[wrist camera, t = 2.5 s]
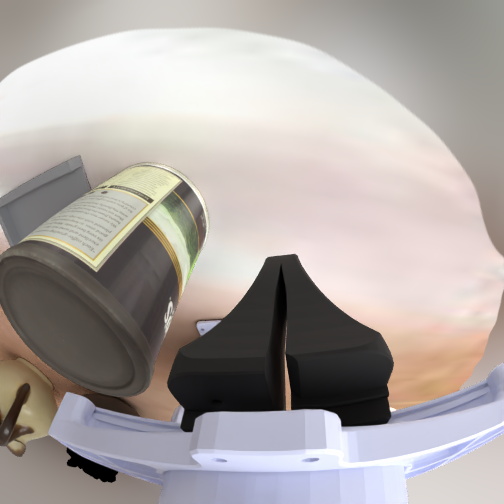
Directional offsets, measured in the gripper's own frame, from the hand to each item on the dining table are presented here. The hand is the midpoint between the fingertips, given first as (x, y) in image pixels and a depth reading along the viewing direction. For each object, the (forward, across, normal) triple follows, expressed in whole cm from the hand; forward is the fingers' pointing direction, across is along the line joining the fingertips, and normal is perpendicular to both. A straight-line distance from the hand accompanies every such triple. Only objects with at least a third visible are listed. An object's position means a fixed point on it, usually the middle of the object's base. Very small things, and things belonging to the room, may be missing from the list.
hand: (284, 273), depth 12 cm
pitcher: (+10, +64, +32) cm, 73 cm away
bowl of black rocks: (+10, +36, +36) cm, 52 cm away
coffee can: (+10, +11, 0) cm, 15 cm away
